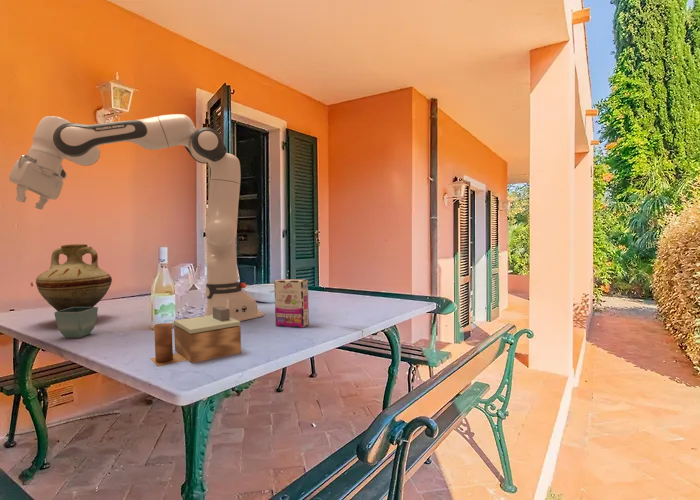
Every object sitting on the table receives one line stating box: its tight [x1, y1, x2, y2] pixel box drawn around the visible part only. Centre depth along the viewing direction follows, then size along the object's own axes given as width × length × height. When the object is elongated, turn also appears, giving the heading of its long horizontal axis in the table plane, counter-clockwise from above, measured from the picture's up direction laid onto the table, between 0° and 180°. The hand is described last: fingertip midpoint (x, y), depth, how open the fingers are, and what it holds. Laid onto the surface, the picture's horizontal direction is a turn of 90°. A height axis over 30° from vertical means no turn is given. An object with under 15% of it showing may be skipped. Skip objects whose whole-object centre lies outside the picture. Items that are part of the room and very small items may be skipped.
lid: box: [173, 306, 241, 334], centre depth 107 cm, size 13×14×4 cm
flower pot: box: [54, 306, 99, 339], centre depth 130 cm, size 9×9×9 cm
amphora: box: [35, 243, 113, 312], centre depth 150 cm, size 24×24×30 cm
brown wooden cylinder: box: [153, 322, 174, 363], centre depth 100 cm, size 4×4×9 cm
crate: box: [149, 324, 242, 367], centre depth 105 cm, size 20×14×8 cm
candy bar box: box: [273, 278, 310, 329], centre depth 140 cm, size 11×5×16 cm, turn 71°
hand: (29, 205), depth 124 cm, fingers open, 8 cm apart
